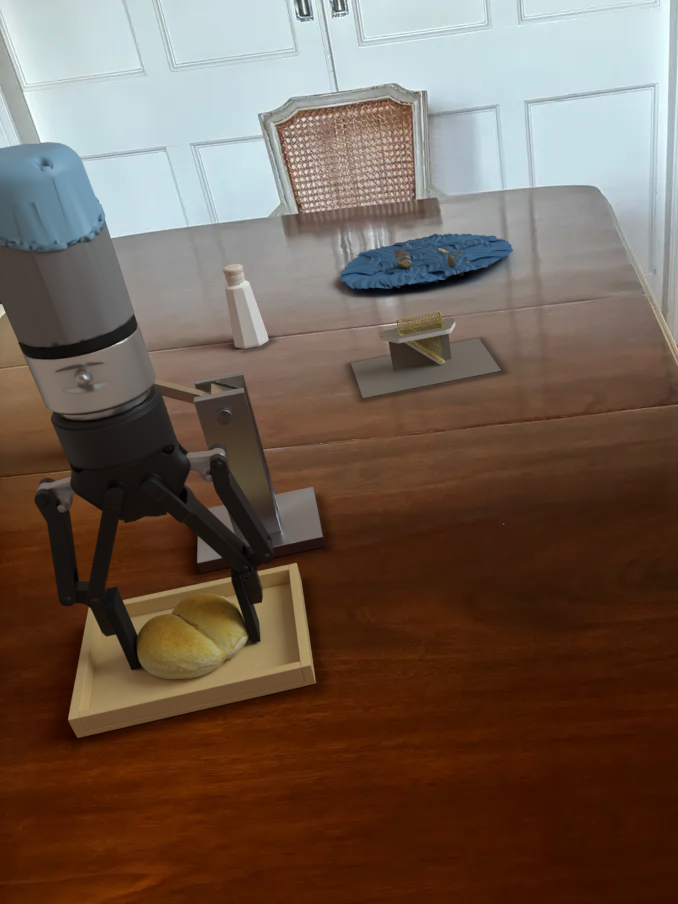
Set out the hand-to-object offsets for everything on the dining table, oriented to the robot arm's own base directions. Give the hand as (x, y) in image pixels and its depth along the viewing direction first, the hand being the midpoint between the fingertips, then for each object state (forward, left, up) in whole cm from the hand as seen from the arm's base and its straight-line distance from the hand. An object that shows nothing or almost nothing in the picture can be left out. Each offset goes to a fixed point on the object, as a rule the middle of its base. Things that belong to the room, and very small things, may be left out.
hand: (196, 645), depth 75 cm
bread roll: (0, 0, 0) cm, 0 cm away
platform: (+29, +50, -1) cm, 58 cm away
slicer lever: (+1, +17, +15) cm, 22 cm away
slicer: (+6, +17, -1) cm, 18 cm away
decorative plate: (+37, +91, -1) cm, 98 cm away
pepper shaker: (+7, +71, -1) cm, 71 cm away
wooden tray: (0, 0, -1) cm, 1 cm away
